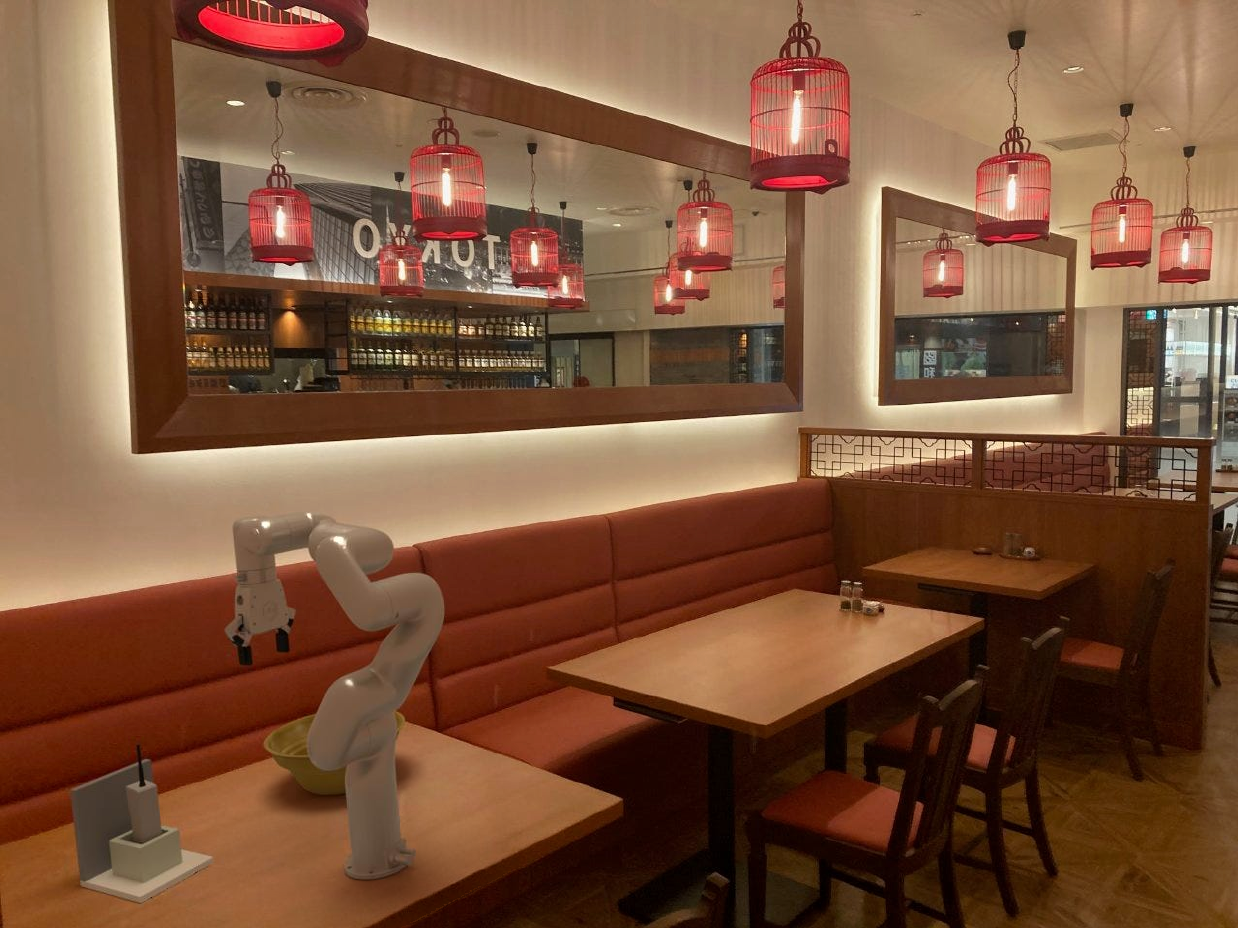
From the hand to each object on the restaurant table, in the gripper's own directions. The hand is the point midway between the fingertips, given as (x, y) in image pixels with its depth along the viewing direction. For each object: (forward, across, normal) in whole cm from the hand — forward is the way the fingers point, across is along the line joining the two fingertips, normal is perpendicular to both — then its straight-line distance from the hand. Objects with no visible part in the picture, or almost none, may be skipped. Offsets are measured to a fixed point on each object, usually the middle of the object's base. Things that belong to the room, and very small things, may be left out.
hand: (265, 658), depth 193 cm
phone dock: (+38, -21, +14) cm, 46 cm away
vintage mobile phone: (+37, -21, +14) cm, 45 cm away
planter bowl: (+39, +26, +9) cm, 47 cm away
